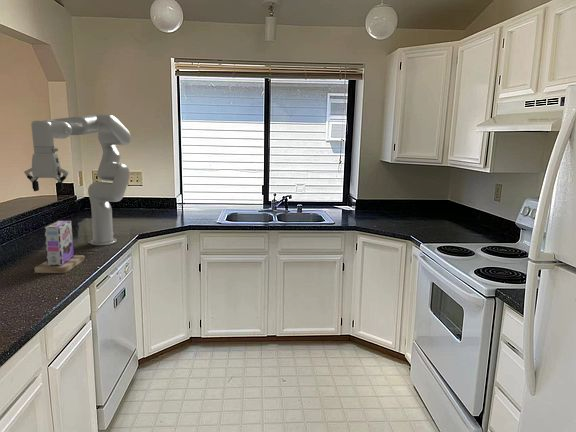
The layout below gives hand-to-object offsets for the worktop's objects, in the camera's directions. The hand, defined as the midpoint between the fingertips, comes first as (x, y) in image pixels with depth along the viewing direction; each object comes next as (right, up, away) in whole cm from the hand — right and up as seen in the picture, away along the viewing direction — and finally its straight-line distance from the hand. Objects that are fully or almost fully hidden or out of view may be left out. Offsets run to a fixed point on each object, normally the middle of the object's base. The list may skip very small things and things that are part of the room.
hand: (48, 191), depth 176 cm
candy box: (+6, -30, -2) cm, 31 cm away
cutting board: (+6, -32, -1) cm, 33 cm away
